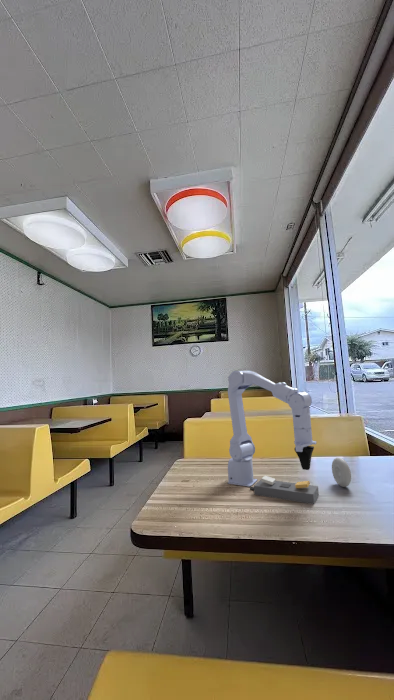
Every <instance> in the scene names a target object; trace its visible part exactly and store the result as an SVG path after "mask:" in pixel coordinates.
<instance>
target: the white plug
mask: <svg viewBox="0 0 394 700" xmlns="http://www.w3.org/2000/svg"><path fill="white" fill-rule="evenodd" d="M260 480H261V481H262V482H265V483H268V484H271V485H273V484H274V483H275V481H277V480H276V478H274V477H271V476H269V475H263V477H261V478H260Z"/></svg>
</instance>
